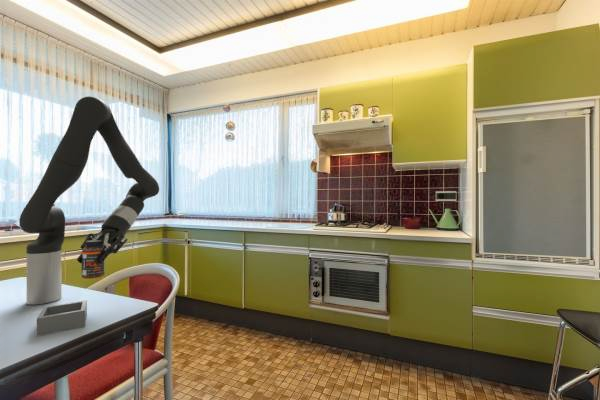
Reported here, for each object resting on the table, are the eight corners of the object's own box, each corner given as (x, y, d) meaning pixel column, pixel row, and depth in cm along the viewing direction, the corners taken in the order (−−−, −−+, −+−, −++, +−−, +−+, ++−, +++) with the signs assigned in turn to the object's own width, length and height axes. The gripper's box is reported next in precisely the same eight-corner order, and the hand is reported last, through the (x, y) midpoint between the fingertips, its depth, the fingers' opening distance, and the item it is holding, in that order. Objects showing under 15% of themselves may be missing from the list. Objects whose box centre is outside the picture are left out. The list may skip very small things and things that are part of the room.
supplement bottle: (84, 280, 86) (84, 242, 86) (79, 276, 90) (79, 240, 90) (107, 276, 91) (107, 240, 91) (101, 273, 94) (101, 238, 94)
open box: (43, 322, 82) (43, 307, 82) (86, 314, 88) (86, 300, 88) (36, 336, 74) (36, 318, 74) (85, 326, 80) (85, 310, 80)
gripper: (96, 213, 99) (60, 254, 87) (131, 214, 96) (99, 256, 84) (109, 227, 104) (77, 268, 93) (143, 228, 101) (114, 270, 90)
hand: (88, 262), depth 89 cm, fingers closed on supplement bottle, 6 cm apart
